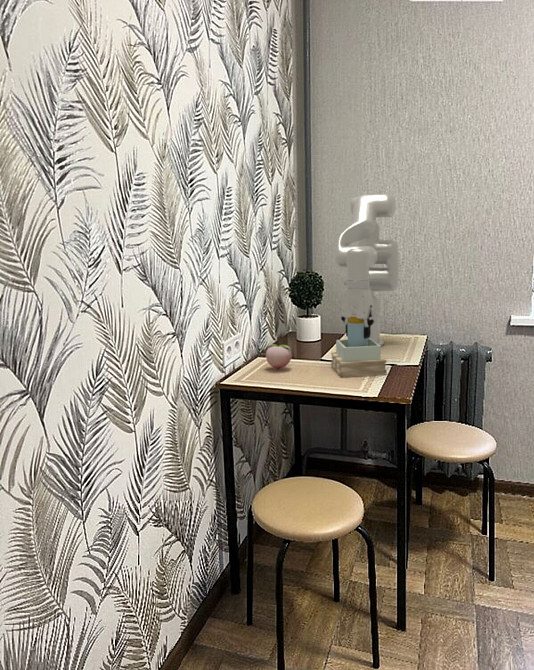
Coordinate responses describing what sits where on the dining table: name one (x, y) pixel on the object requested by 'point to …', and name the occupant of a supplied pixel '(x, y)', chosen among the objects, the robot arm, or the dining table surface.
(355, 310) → the bottle
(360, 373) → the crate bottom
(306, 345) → the dining table surface
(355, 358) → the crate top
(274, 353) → the decorative fruit
